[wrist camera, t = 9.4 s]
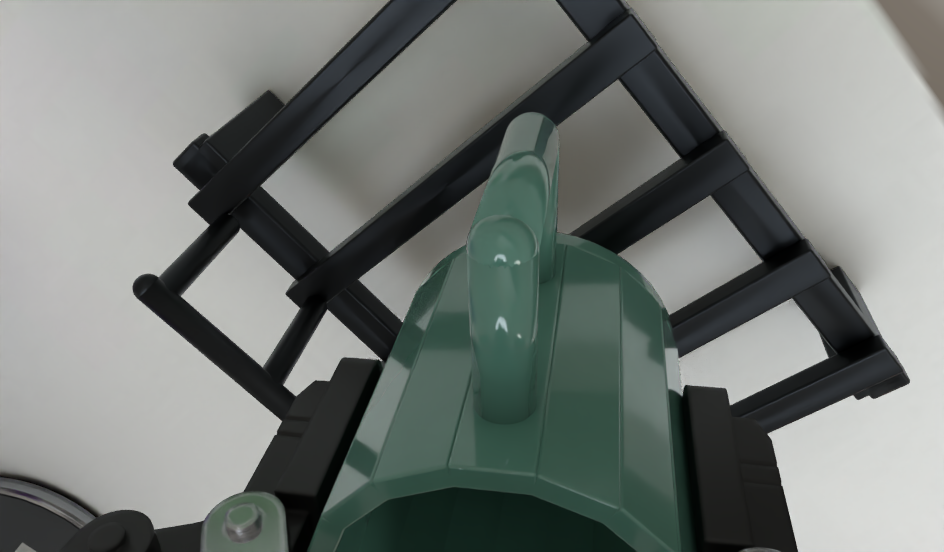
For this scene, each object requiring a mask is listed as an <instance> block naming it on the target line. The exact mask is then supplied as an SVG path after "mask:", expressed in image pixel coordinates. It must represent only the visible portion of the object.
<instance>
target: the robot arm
mask: <svg viewBox="0 0 944 552" xmlns="http://www.w3.org/2000/svg"><path fill="white" fill-rule="evenodd" d="M382 371H383V366H382V363H381V361H380V360H372V359H359V358H347V357H344V358H342V359H341V361H340V362H339V364H338V366H337V368H336V370H335V372H334V374H333V376H332V378H331V380H330V382H329V381H317V380H315V381H314V382H313V383H312V384H311V385H309V386H308V387H307V388H306V389H305V390H303V391H302V392H301V393H300V394H299V395H297V396H296V398H295V400H294V402H293V403H292V405H291V407H290V409H289V411H288V412H287V414H286V419H284V420H283V421H282V423H281V425H280V427H279V429H278V430H277V435H275V436H274V438H273V439H272V441H271V443H270V445H269V447H268V448H267V450H266V452H265V454H264V456H263V458H262V459H261V461H260V463H259V465H258V467H257V468H256V470H255V472H254V474H253V476H252V477H251V479H250V481H249V483H248V485H247V486H246V488H245V490H244V492H242V493H239V494H236V495H233V496H231V497H229V498H227V499H225V500H223V501H222V502H220V503H219V504H218V505H216V506H215V507H214V508H213V509H212V510H211V511H210V513H209V514H208V515H207V517H206V518H205V520H204V521H201V522H197V523H193V524H187V525H181V526H175V527H168V528H162V529H156V530H154V527H153V524H152V522H151V520H150V519H149V518H148V517H147V516H146V515H145V514H143V513H141V512H138V511H134V510H120V511H114V512H110V513H107V514H104V515H102V516H100V517H98V518H96V517H95V516H93V515H92V514H91V513H90V512H88V511H87V510H85V509H84V508H82V507H81V506H79V505H78V504H76V503H74V502H73V501H71V500H69V499H67V498H65V497H64V496H62V495H59V494H57V493H55V492H53V491H51V490H48V489H46V488H43V487H41V486H38V485H35V484H32V483H28V482H25V481H20V480H16V479H10V478H2V477H0V552H306V551H307V549H308V546H309V544H310V541H311V539H312V536H313V534H314V531H315V529H316V526H317V524H318V521H319V519H320V516H321V514H322V511H323V509H324V507H325V504H326V502H327V500H328V497H329V495H330V493H331V490H332V488H333V486H334V483H335V481H336V479H337V476H338V474H339V472H340V469H341V467H342V465H343V462H344V460H345V458H346V455H347V453H348V451H349V448H350V446H351V444H352V441H353V439H354V436H355V434H356V432H357V429H358V427H359V425H360V422H361V420H362V418H363V415H364V413H365V411H366V408H367V406H368V404H369V401H370V399H371V397H372V394H373V392H374V390H375V387H376V385H377V383H378V380H379V378H380V376H381V373H382ZM682 399H683V408H684V418H685V428H686V437H687V447H688V456H689V466H690V476H691V485H692V495H693V504H694V514H695V524H696V533H697V543H698V552H798V549H797V545H796V541H795V537H794V533H793V528H792V524H791V520H790V516H789V512H788V507H787V503H786V499H785V495H784V490H783V486H781V478H780V474H779V469H778V467H777V461H776V457H775V453H774V448H773V444H772V440H771V439H770V437H769V436H768V435H767V433H766V432H765V431H764V430H763V428H762V427H761V426H760V425H759V423H758V422H757V421H756V420H755V419H754V418H742V417H732V416H731V410H730V405H729V399H728V394H727V390H726V389H725V388H715V387H702V386H690V385H685V387H684V390H683V396H682Z"/></svg>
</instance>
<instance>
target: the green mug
mask: <svg viewBox="0 0 944 552" xmlns="http://www.w3.org/2000/svg"><path fill="white" fill-rule="evenodd" d="M558 175H559V133H558V129H557V127H556V126H555V124H554V123H553V121H552V120H551V119H549V118H548V117H547V116H545V115H543V114H540V113H536V112H528V113H524V114H522V115H519V116H518V117H516V118H515V119H514V120H513V121H512V122H511V123H510V124H509V126H508V127H507V129H506V132H505V135H504V138H503V140H502V143H501V146H500V149H499V152H498V154H497V157H496V160H495V163H494V165H493V168H492V171H491V174H490V176H489V179H488V182H487V185H486V187H485V190H484V193H483V196H482V199H481V201H480V204H479V207H478V210H477V212H476V215H475V218H474V221H473V223H472V226H471V229H470V232H469V235H468V237H467V243H466V245H465V246H463V247H461V248H459V249H458V250H456V251H454V252H452V253H451V254H450V255H448V256H447V257H446V258H444V259H443V260H442V261H440V262H439V263H438V264H437V265H436V266H435V267H434V268H433V269H432V271H431V272H430V273H429V274H428V275H427V277H426V278H425V279H424V281H423V282H422V284H421V285H420V287H419V289H418V290H417V291H416V294H415V296H414V298H413V301H412V303H411V305H410V308H409V310H408V312H407V315H406V317H405V319H404V322H403V324H402V326H401V329H400V331H399V333H398V336H397V338H396V341H395V343H394V345H393V348H392V350H391V352H390V355H389V357H388V359H387V362H386V364H385V366H384V369H383V371H382V373H381V376H380V378H379V380H378V383H377V385H376V387H375V390H374V392H373V394H372V397H371V399H370V401H369V404H368V406H367V408H366V411H365V413H364V415H363V418H362V420H361V422H360V425H359V427H358V429H357V432H356V434H355V436H354V439H353V441H352V444H351V446H350V448H349V451H348V453H347V455H346V458H345V460H344V462H343V465H342V467H341V469H340V472H339V474H338V476H337V479H336V481H335V483H334V486H333V488H332V490H331V493H330V495H329V497H328V500H327V502H326V504H325V507H324V509H323V511H322V514H321V516H320V519H319V521H318V524H317V526H316V529H315V531H314V534H313V536H312V539H311V541H310V544H309V546H308V549H307V551H306V552H698V543H697V533H696V524H695V514H694V504H693V495H692V485H691V476H690V466H689V456H688V447H687V437H686V428H685V418H684V408H683V399H682V388H681V379H680V369H679V360H678V351H677V346H676V344H675V341H674V337H673V329H672V325H671V322H670V318H669V315H668V312H667V310H666V308H665V306H664V304H663V302H662V300H661V298H660V297H659V295H658V294H657V292H656V291H655V289H654V288H653V286H652V285H651V284H650V283H649V282H648V281H647V279H646V278H645V277H644V276H643V275H642V274H641V273H640V272H639V271H638V270H637V269H635V268H634V267H633V266H632V265H631V264H629V263H628V262H627V261H626V260H624V259H623V258H621V257H620V256H618V255H617V254H615V253H613V252H612V251H610V250H608V249H606V248H604V247H602V246H600V245H598V244H596V243H593V242H591V241H588V240H585V239H582V238H579V237H576V236H572V235H567V234H563V233H558V232H557V210H558Z"/></svg>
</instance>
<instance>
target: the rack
mask: <svg viewBox="0 0 944 552" xmlns="http://www.w3.org/2000/svg"><path fill="white" fill-rule="evenodd" d="M456 1H457V0H390V1H389V2H388V3H387V4H386V5H385V6H384V7H383V8H382V9H381V10H380V11H379V12H378V13H377V14H376V15H375V16H374V17H373V18H372V19H371V20H370V21H369V22H368V23H367V24H366V25H365V26H364V27H363V28H362V29H361V30H360V31H359V32H358V33H357V34H356V35H355V36H354V37H353V38H352V39H351V40H350V41H349V42H348V43H347V44H346V45H345V46H344V47H343V48H342V49H341V50H340V51H339V52H338V53H337V54H336V55H335V56H334V57H333V58H332V59H331V60H330V61H329V62H328V63H327V64H326V65H325V66H324V67H323V68H322V69H321V70H320V71H319V72H318V73H317V74H316V75H315V76H314V77H313V78H312V79H311V80H310V81H309V82H308V83H307V84H306V85H305V86H304V87H303V88H302V89H301V90H300V91H299V92H298V93H297V94H296V95H295V96H294V97H293V98H292V99H291V100H290V101H289V102H288V103H287V104H286V105H284V104H283V103H282V102H281V101H280V100H279V99H278V98H277V97H276V96H275V95H274V94H273V93H272V92H271V91H267V92H265V93H264V94H263V95H262V96H260V97H259V98H258V99H257V100H255V101H254V102H253V103H252V104H250V105H249V106H248V107H247V108H245V109H244V110H243V111H241V112H240V113H239V114H238V115H236V116H235V117H234V118H233V119H231V120H230V121H229V122H228V123H226V124H225V125H224V126H223V127H221V128H220V129H219V130H218V131H216V132H215V133H214V134H213V135H211V136H210V137H209V136H208V135H207V134H205V133H204V134H201V135H200V136H199V137H198V138H196V139H195V140H194V141H192V142H191V143H190V144H189V146H188V147H187V148H186V149H185V150H184V151H183V152H182V153H181V154H180V155H179V156H178V157H177V158H176V159H175V160H174V162H173V166H174V167H175V168H176V169H177V170H178V171H179V172H181V173H182V174H183V175H184V176H185V177H186V178H187V179H188V180H189V181H190V182H191V183H192V184H193V185H195V186H196V187H197V188H198V189H199V190H200V191H199V192H198V193H197V194H196V195H195V196H194V197H193V198H192V199H191V200H190V201H189V203H188V205H189V206H190V207H191V208H192V209H193V210H194V211H195V212H196V213H197V214H199V215H200V216H201V217H202V218H203V219H204V220H205V221H206V222H207V223H208V224H209V225H210V226H209V227H208V228H207V229H206V230H205V231H204V232H203V233H202V234H201V235H200V236H199V237H198V238H197V239H196V240H195V241H194V242H193V243H192V244H191V245H190V246H189V247H188V248H187V249H186V250H185V251H184V252H183V253H182V254H181V255H180V256H179V257H178V258H177V259H176V260H175V261H174V262H173V263H172V264H171V265H170V266H169V267H168V268H167V270H166V271H165V272H164V273H163V274H162V275H161V276H160V277H157V276H155V275H153V274H144V275H141V276H139V277H138V278H137V279H136V280H135V281H134V283H133V293H134V295H135V296H136V298H137V299H139V300H140V301H141V302H142V303H143V304H145V305H146V306H147V307H148V308H149V309H150V310H152V311H153V312H154V313H155V314H156V315H157V316H159V317H160V318H161V319H162V320H163V321H165V322H166V323H167V324H168V325H169V326H170V327H172V328H173V329H174V330H175V331H176V332H178V333H179V334H180V335H181V336H182V337H183V338H185V339H186V340H187V341H188V342H189V343H191V344H192V345H193V346H194V347H195V348H196V349H198V350H199V351H200V352H201V353H202V354H204V355H205V356H206V357H207V358H208V359H209V360H211V361H212V362H213V363H214V364H215V365H217V366H218V367H219V368H220V369H221V370H222V371H224V372H225V373H226V374H227V375H228V376H230V377H231V378H232V379H233V380H234V381H235V382H237V383H238V384H239V385H240V386H241V387H243V388H244V389H245V390H246V391H247V392H248V393H250V394H251V395H252V396H253V397H254V398H256V399H257V400H258V401H259V402H260V403H261V404H263V405H264V406H265V407H266V408H267V409H268V410H270V411H271V412H272V413H273V414H274V415H276V416H277V417H278V418H279V419H280V420H281V421H283V420H284V419H286V414H287V412H288V411H289V409H290V407H291V405H292V403H293V402H294V400H295V398H296V396H295V395H294V394H292V393H291V392H290V391H289V390H288V389H287V388H286V387H284V386H283V385H284V383H285V381H286V379H287V378H288V376H289V374H290V373H291V371H292V369H293V367H294V366H295V364H296V362H297V361H298V359H299V357H300V355H301V354H302V352H303V350H304V349H305V347H306V345H307V343H308V342H309V340H310V338H311V337H312V335H313V333H314V331H315V330H316V328H317V326H318V325H319V323H320V321H321V319H322V318H323V316H324V314H325V313H326V311H327V309H328V310H329V311H330V312H331V313H332V314H333V315H334V316H335V317H337V318H338V319H339V320H340V321H341V322H342V323H343V324H344V325H345V326H346V327H347V328H348V329H349V330H350V331H352V332H353V333H354V334H355V335H356V336H357V337H358V338H359V339H360V340H361V341H362V342H363V343H364V344H366V345H367V346H368V347H369V348H370V349H371V350H372V351H373V352H374V353H375V354H376V355H377V356H378V357H380V358H381V359H382V360H383V361H381V363H382V366H383V369H384V366H385V364H386V362H387V359H388V357H389V355H390V352H391V350H392V348H393V345H394V343H395V341H396V338H397V336H398V333H399V331H400V329H401V326H402V324H403V322H401V321H400V320H399V319H398V318H397V317H396V316H395V315H394V314H393V313H392V312H391V311H390V310H389V309H388V308H387V307H386V306H385V305H384V304H383V303H382V302H381V301H380V300H379V299H378V298H377V297H376V296H374V295H373V294H372V293H371V292H370V291H369V290H368V289H367V288H366V287H365V286H364V285H363V284H362V283H361V282H360V281H359V280H358V279H359V278H360V277H361V276H363V275H364V274H365V273H367V272H368V271H369V270H370V269H372V268H373V267H374V266H376V265H377V264H378V263H380V262H381V261H382V260H383V259H385V258H386V257H387V256H389V255H390V254H391V253H393V252H394V251H395V250H396V249H398V248H399V247H400V246H402V245H403V244H404V243H406V242H407V241H408V240H409V239H411V238H412V237H413V236H415V235H416V234H417V233H419V232H420V231H421V230H422V229H424V228H425V227H426V226H428V225H429V224H430V223H432V222H433V221H434V220H435V219H437V218H438V217H439V216H441V215H442V214H443V213H445V212H446V211H447V210H448V209H450V208H451V207H452V206H454V205H455V204H456V203H458V202H459V201H460V200H461V199H463V198H464V197H465V196H467V195H468V194H469V193H471V192H472V191H473V190H474V189H476V188H477V187H478V186H480V185H481V184H482V183H484V182H485V181H486V180H487V179H489V176H490V174H491V171H492V168H493V165H494V163H495V160H496V157H497V154H498V152H499V149H500V146H501V143H502V140H503V138H504V135H505V132H506V129H507V127H508V126H509V124H510V123H511V122H512V121H513V120H514V119H515V118H516V117H518V116H519V115H522V114H524V113H528V112H536V113H540V114H543V115H545V116H547V117H548V118H549V119H551V120H552V121H553V123H554V124H555V126H558V125H559V124H560V123H562V122H563V121H564V120H565V119H567V118H568V117H569V116H571V115H572V114H573V113H575V112H576V111H577V110H578V109H580V108H581V107H582V106H584V105H585V104H586V103H588V102H589V101H590V100H591V99H593V98H594V97H595V96H597V95H598V94H599V93H601V92H602V91H603V90H604V89H606V88H607V87H608V86H610V85H611V84H612V83H614V82H615V81H616V80H617V79H618V80H619V81H620V82H621V84H622V85H623V86H624V87H625V89H626V90H627V91H628V92H629V94H630V95H631V96H632V97H633V99H634V100H635V101H636V102H637V104H638V105H639V106H640V108H641V109H642V110H643V111H644V113H645V114H646V115H647V116H648V118H649V119H650V120H651V121H652V123H653V124H654V125H655V126H656V128H657V129H658V130H659V131H660V133H661V134H662V135H663V136H664V138H665V139H666V140H667V141H668V143H669V144H670V145H671V147H672V148H673V149H674V150H675V152H676V153H677V154H678V155H679V157H680V158H681V159H679V160H678V161H676V162H675V163H673V164H672V165H670V166H669V167H667V168H666V169H665V170H663V171H662V172H660V173H659V174H657V175H656V176H654V177H653V178H651V179H650V180H648V181H647V182H645V183H644V184H642V185H641V186H639V187H638V188H636V189H635V190H634V191H632V192H631V193H629V194H628V195H626V196H625V197H623V198H622V199H620V200H619V201H617V202H616V203H614V204H613V205H611V206H610V207H608V208H607V209H606V210H604V211H603V212H601V213H600V214H598V215H597V216H595V217H594V218H592V219H591V220H589V221H588V222H586V223H585V224H583V225H582V226H580V227H579V228H577V229H576V230H575V231H573V232H572V233H570V234H569V235H572V236H576V237H579V238H582V239H585V240H588V241H591V242H593V243H596V244H598V245H600V246H602V247H604V248H606V249H608V250H610V251H612V252H613V253H615V254H618V253H620V252H622V251H623V250H625V249H626V248H628V247H629V246H631V245H633V244H634V243H636V242H637V241H639V240H640V239H642V238H643V237H645V236H647V235H648V234H650V233H651V232H653V231H654V230H656V229H658V228H659V227H661V226H662V225H664V224H665V223H667V222H669V221H670V220H672V219H673V218H675V217H676V216H678V215H680V214H681V213H683V212H684V211H686V210H687V209H689V208H691V207H692V206H694V205H695V204H697V203H698V202H700V201H702V200H703V199H705V198H706V197H708V196H709V195H710V196H711V197H712V198H713V199H714V201H715V202H716V203H717V204H718V206H719V207H720V208H721V209H722V211H723V212H724V213H725V214H726V216H727V217H728V218H729V220H730V221H731V222H732V223H733V225H734V226H735V227H736V228H737V230H738V231H739V232H740V233H741V235H742V236H743V237H744V238H745V240H746V241H747V242H748V243H749V245H750V246H751V247H752V248H753V250H754V251H755V252H756V254H757V255H758V256H759V257H760V259H761V260H762V261H763V262H762V263H760V264H759V265H757V266H755V267H753V268H752V269H750V270H748V271H746V272H745V273H743V274H741V275H739V276H738V277H736V278H734V279H732V280H731V281H729V282H727V283H725V284H724V285H722V286H720V287H718V288H716V289H715V290H713V291H711V292H709V293H708V294H706V295H704V296H702V297H701V298H699V299H697V300H695V301H694V302H692V303H690V304H688V305H687V306H685V307H683V308H681V309H680V310H678V311H676V312H674V313H673V314H671V315H669V318H670V322H671V325H672V329H673V337H674V341H675V344H676V346H677V351H678V358H680V357H682V356H684V355H686V354H688V353H690V352H691V351H693V350H695V349H697V348H699V347H701V346H703V345H705V344H706V343H708V342H710V341H712V340H714V339H716V338H718V337H719V336H721V335H723V334H725V333H727V332H729V331H731V330H733V329H734V328H736V327H738V326H740V325H742V324H744V323H746V322H748V321H749V320H751V319H753V318H755V317H757V316H759V315H761V314H763V313H764V312H766V311H768V310H770V309H772V308H774V307H776V306H777V305H779V304H781V303H783V302H785V301H787V300H789V299H791V298H792V299H793V300H794V301H795V303H796V304H797V305H798V306H799V308H800V309H801V310H802V311H803V313H804V314H805V315H806V316H807V318H808V319H809V320H810V321H811V323H812V324H813V325H814V326H815V328H816V329H817V330H818V332H819V334H820V337H821V339H822V342H823V344H824V347H825V350H826V352H827V355H828V357H829V358H828V359H826V360H824V361H822V362H820V363H818V364H815V365H813V366H811V367H809V368H807V369H805V370H803V371H801V372H799V373H797V374H795V375H793V376H791V377H789V378H786V379H784V380H782V381H780V382H778V383H776V384H774V385H772V386H770V387H768V388H766V389H764V390H762V391H760V392H757V393H755V394H753V395H751V396H749V397H747V398H745V399H743V400H741V401H739V402H737V403H735V404H733V405H731V406H730V410H731V416H732V417H742V418H754V419H755V420H756V421H757V422H758V423H759V425H760V426H761V427H762V428H763V430H764V431H765V432H766V433H767V434H768V433H770V432H772V431H774V430H776V429H779V428H781V427H783V426H785V425H787V424H790V423H792V422H794V421H796V420H799V419H801V418H803V417H805V416H807V415H810V414H812V413H814V412H816V411H818V410H821V409H823V408H825V407H827V406H829V405H832V404H834V403H836V402H838V401H841V400H843V399H845V398H847V397H849V396H852V395H854V397H855V398H856V399H857V400H860V399H862V398H864V397H866V396H870V397H871V398H873V399H876V398H878V397H880V396H882V395H885V394H887V393H889V392H891V391H894V390H896V389H898V388H900V387H903V386H905V385H907V384H909V383H910V379H909V377H908V375H907V373H906V372H905V370H904V368H903V366H902V365H901V363H900V362H899V360H898V358H897V356H896V355H895V354H894V352H893V351H892V350H891V348H890V347H889V346H888V344H887V343H886V342H885V341H884V339H883V338H882V336H881V334H880V332H879V330H878V328H877V326H876V324H875V322H874V320H873V318H872V316H871V314H870V312H869V310H868V308H867V306H866V304H865V302H864V300H863V298H862V296H861V294H860V292H859V291H858V290H857V288H856V287H855V286H854V284H853V283H852V282H851V280H850V279H849V278H848V276H847V275H846V274H845V273H844V271H843V270H842V269H841V267H839V266H838V267H836V268H834V269H832V270H831V271H830V270H829V268H828V267H827V265H826V263H825V261H824V260H823V259H822V258H821V256H820V255H819V254H818V252H817V251H816V250H815V248H814V247H813V246H812V244H811V243H810V242H809V240H808V239H806V238H805V237H804V236H803V234H802V233H801V232H800V230H799V229H798V228H797V226H796V225H795V224H794V222H793V221H792V220H791V218H790V217H789V216H788V215H787V213H786V212H785V211H784V209H783V208H782V207H781V205H780V204H779V203H778V201H777V200H776V199H775V197H774V196H773V195H772V193H771V192H770V191H769V190H768V188H767V187H766V186H765V184H764V183H763V182H762V180H761V179H760V178H759V176H758V175H757V174H756V172H755V171H754V170H753V168H752V167H751V166H750V165H749V163H748V162H747V159H746V157H745V156H744V155H743V153H742V152H741V151H740V149H739V148H738V147H737V145H736V144H735V143H734V142H733V140H732V139H731V138H730V136H729V135H728V134H727V132H726V131H724V130H723V129H722V128H721V126H720V125H719V124H718V122H717V121H716V120H715V118H714V117H713V116H712V114H711V113H710V112H709V111H708V109H707V108H706V107H705V105H704V104H703V103H702V101H701V100H700V99H699V97H698V96H697V95H696V93H695V92H694V91H693V89H692V88H691V87H690V86H689V84H688V83H687V82H686V80H685V79H684V78H683V76H682V75H681V74H680V72H679V71H678V70H677V68H676V67H675V66H674V64H673V63H672V62H671V61H670V59H669V58H668V57H667V55H666V54H665V53H664V51H663V50H662V49H661V47H660V46H659V45H658V43H657V42H656V39H655V37H654V36H653V35H652V33H651V32H650V31H649V30H648V28H647V27H646V26H645V24H644V23H643V22H642V20H641V19H640V18H639V16H638V15H637V14H636V12H635V11H634V10H633V9H632V8H630V7H629V5H628V4H627V3H626V1H625V0H555V1H556V2H557V3H558V4H559V6H560V7H561V8H562V9H563V11H564V12H565V13H566V14H567V16H568V17H569V18H570V19H571V21H572V22H573V23H574V24H575V26H576V27H577V28H578V29H579V31H580V32H581V33H582V35H583V36H584V37H585V38H586V40H587V41H588V42H587V43H586V44H584V45H583V46H582V47H581V48H580V49H578V50H577V51H576V52H575V53H573V54H572V55H571V56H570V57H568V58H567V59H566V60H565V61H564V62H562V63H561V64H560V65H559V66H557V67H556V68H555V69H554V70H553V71H551V72H550V73H549V74H548V75H546V76H545V77H544V78H543V79H542V80H540V81H539V82H538V83H537V84H535V85H534V86H533V87H532V88H530V89H529V90H528V91H527V92H526V93H524V94H523V95H522V96H521V97H519V98H518V99H517V100H516V101H515V102H513V103H512V104H511V105H510V106H508V107H507V108H506V109H505V110H504V111H502V112H501V113H500V114H499V115H497V116H496V117H495V118H494V119H492V120H491V121H490V122H489V123H488V124H486V125H485V126H484V127H483V128H481V129H480V130H479V131H478V132H477V133H475V134H474V135H473V136H472V137H470V138H469V139H468V140H467V141H466V142H464V143H463V144H462V145H461V146H459V147H458V148H457V149H456V150H454V151H453V152H452V153H451V154H450V155H448V156H447V157H446V158H445V159H443V160H442V161H441V162H440V163H439V164H437V165H436V166H435V167H434V168H432V169H431V170H430V171H429V172H428V173H426V174H425V175H424V176H423V177H421V178H420V179H419V180H418V181H416V182H415V183H414V184H413V185H412V186H410V187H409V188H408V189H407V190H405V191H404V192H403V193H402V194H401V195H399V196H398V197H397V198H396V199H394V200H393V201H392V202H391V203H390V204H388V205H387V206H386V207H385V208H383V209H382V210H381V211H380V212H378V213H377V214H376V215H375V216H374V217H372V218H371V219H370V220H369V221H367V222H366V223H365V224H364V225H363V226H361V227H360V228H359V229H358V230H356V231H355V232H354V233H353V234H352V235H350V236H349V237H348V238H347V239H345V240H344V241H343V242H342V243H340V244H339V245H338V246H337V247H336V248H334V249H333V250H332V251H331V252H329V251H328V250H327V249H326V248H325V247H324V246H323V245H321V244H320V243H319V242H318V241H317V240H316V239H315V238H314V237H313V236H312V235H311V234H310V233H309V232H308V231H307V230H306V229H305V228H304V227H303V226H302V225H301V224H300V223H299V222H298V221H297V220H295V219H294V218H293V217H292V216H291V215H290V214H289V213H288V212H287V211H286V210H285V209H284V208H283V207H282V206H281V205H280V204H279V203H278V202H277V201H276V200H275V199H274V198H273V197H272V196H271V195H270V194H268V193H267V192H266V191H265V190H264V189H263V188H262V187H261V185H262V184H263V183H264V182H265V181H266V180H267V179H268V178H269V177H270V176H271V175H272V174H273V173H274V172H275V171H276V170H277V169H279V168H280V167H281V166H282V165H283V164H284V163H285V162H286V161H287V160H288V159H289V158H290V157H291V156H292V155H293V154H294V153H296V152H297V151H298V150H299V149H300V148H301V147H302V146H303V145H304V144H305V143H306V142H307V141H308V140H309V139H310V138H311V137H312V136H314V135H315V134H316V133H317V132H318V131H319V130H320V129H321V128H322V127H323V126H324V125H325V124H326V123H327V122H328V121H329V120H331V119H332V118H333V117H334V116H335V115H336V114H337V113H338V112H339V111H340V110H341V109H342V108H343V107H344V106H345V105H346V104H348V103H349V102H350V101H351V100H352V99H353V98H354V97H355V96H356V95H357V94H358V93H359V92H360V91H361V90H362V89H363V88H364V87H366V86H367V85H368V84H369V83H370V82H371V81H372V80H373V79H374V78H375V77H376V76H377V75H378V74H379V73H380V72H381V71H383V70H384V69H385V68H386V67H387V66H388V65H389V64H390V63H391V62H392V61H393V60H394V59H395V58H396V57H397V56H398V55H399V54H401V53H402V52H403V51H404V50H405V49H406V48H407V47H408V46H409V45H410V44H411V43H412V42H413V41H414V40H415V39H416V38H418V37H419V36H420V35H421V34H422V33H423V32H424V31H425V30H426V29H427V28H428V27H429V26H430V25H431V24H432V23H433V22H435V21H436V20H437V19H438V18H439V17H440V16H441V15H442V14H443V13H444V12H445V11H446V10H447V9H448V8H449V7H450V6H451V5H453V4H454V3H455V2H456ZM240 228H241V229H242V230H243V231H244V232H245V233H246V234H247V235H248V236H249V237H250V238H252V239H253V240H254V241H255V242H256V243H257V244H258V245H259V246H260V247H261V248H262V249H263V250H264V251H266V252H267V253H268V254H269V255H270V256H271V257H272V258H273V259H274V260H275V261H276V262H277V263H278V264H280V265H281V266H282V267H283V268H284V269H285V270H286V271H287V272H288V273H289V274H290V275H291V276H292V277H293V278H295V279H296V280H295V281H294V282H293V283H292V284H291V286H290V287H289V289H288V290H287V292H286V295H287V296H288V297H289V298H290V299H291V300H292V301H293V302H294V303H295V304H296V305H297V306H299V307H300V310H299V312H298V313H297V315H296V316H295V318H294V319H293V321H292V322H291V324H290V326H289V327H288V329H287V330H286V332H285V333H284V335H283V337H282V338H281V340H280V341H279V343H278V344H277V346H276V348H275V349H274V351H273V352H272V354H271V355H270V357H269V359H268V360H267V362H266V363H265V365H264V366H263V368H262V367H261V366H260V365H259V364H258V363H257V362H256V361H254V360H253V359H252V358H251V357H250V356H249V355H247V354H246V353H245V352H244V351H243V350H242V349H241V348H239V347H238V346H237V345H236V344H235V343H234V342H232V341H231V340H230V339H229V338H228V337H227V336H226V335H224V334H223V333H222V332H221V331H220V330H219V329H217V328H216V327H215V326H214V325H213V324H212V323H211V322H209V321H208V320H207V319H206V318H205V317H204V316H202V315H201V314H200V313H199V312H198V311H197V310H196V309H194V308H193V307H192V306H191V305H190V304H189V303H187V302H186V301H185V300H184V299H183V298H182V297H181V295H182V294H183V293H184V292H185V291H186V290H187V289H188V287H189V286H190V285H191V284H192V283H193V282H194V281H195V280H196V279H197V277H198V276H199V275H200V274H201V273H202V272H203V271H204V270H205V269H206V267H207V266H208V265H209V264H210V263H211V262H212V261H213V260H214V259H215V258H216V256H217V255H218V254H219V253H220V252H221V251H222V250H223V249H224V248H225V246H226V245H227V244H228V243H229V242H230V241H231V240H232V239H233V238H234V236H235V235H236V234H237V233H238V232H239V230H240Z"/></svg>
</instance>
